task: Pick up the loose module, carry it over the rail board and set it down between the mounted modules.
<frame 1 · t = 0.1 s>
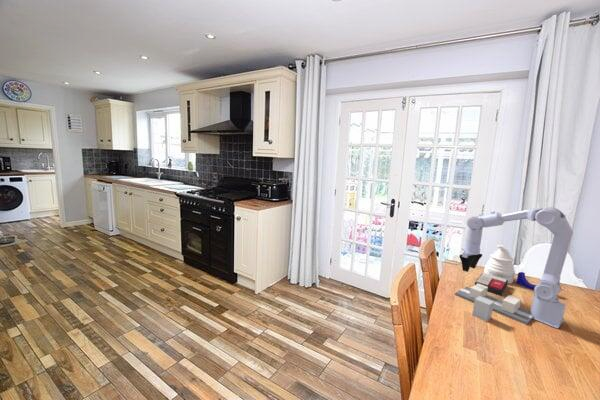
hand: (468, 269, 127), 10 cm above the table, tool pointing down, fingers open, 7 cm apart
loose module: (481, 316, 106), on the table
blue shoe: (532, 288, 134), on the table
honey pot: (498, 278, 144), on the table
mounted modules: (494, 297, 115), on the rail board, point 3 cm above the table
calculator: (490, 287, 133), on the table
rail board: (492, 304, 116), on the table
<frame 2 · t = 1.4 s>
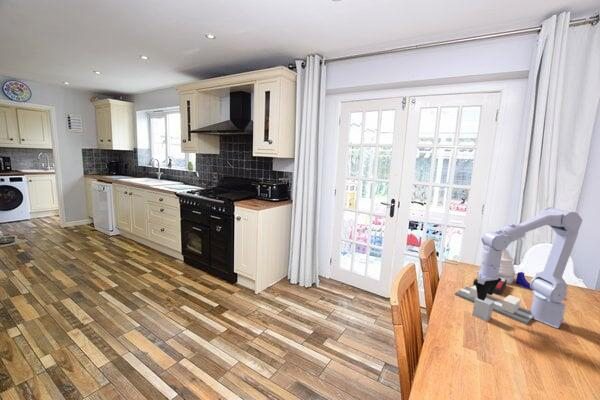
hand: (484, 296, 105), 8 cm above the table, tool pointing down, fingers open, 7 cm apart
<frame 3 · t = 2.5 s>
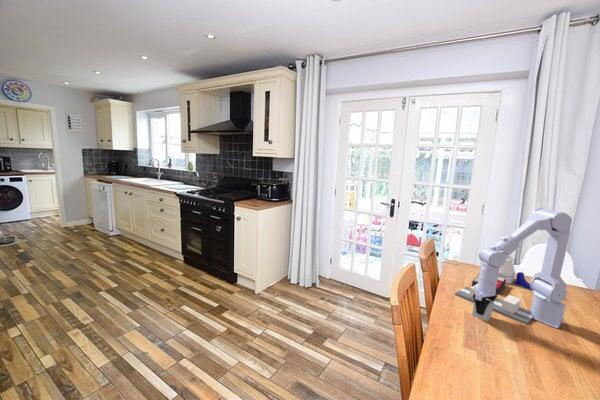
hand: (482, 312, 106), 2 cm above the table, tool pointing down, fingers closed on loose module, 4 cm apart
loose module: (481, 316, 106), on the table, touching gripper
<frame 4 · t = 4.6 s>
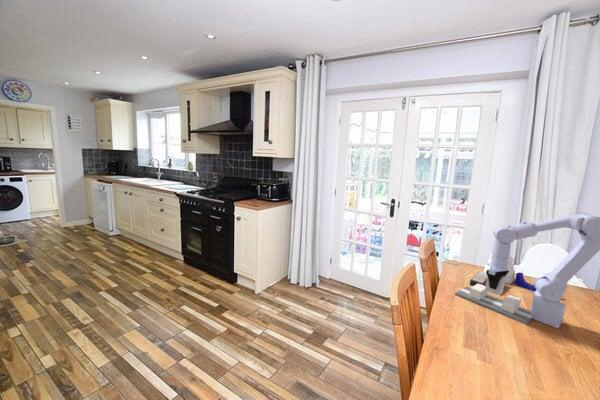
hand: (494, 286, 112), 9 cm above the table, tool pointing down, fingers closed on loose module, 4 cm apart
loose module: (493, 291, 113), point 7 cm above the table, touching gripper
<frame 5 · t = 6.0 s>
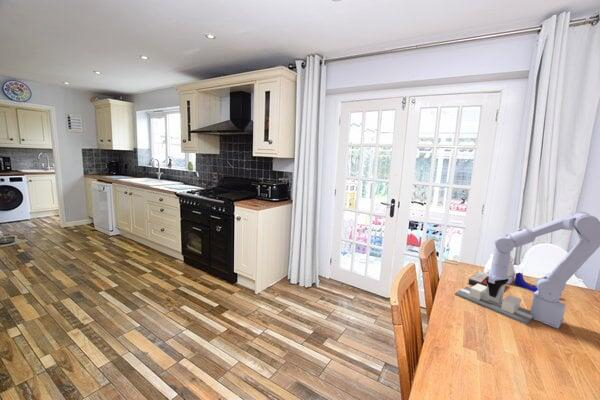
hand: (494, 294, 115), 4 cm above the table, tool pointing down, fingers closed on loose module, 4 cm apart
loose module: (493, 298, 115), point 3 cm above the table, touching gripper
when the fingers open (4 cm above the table, at t = 6.8 s): loose module drops 1 cm, resting on rail board.
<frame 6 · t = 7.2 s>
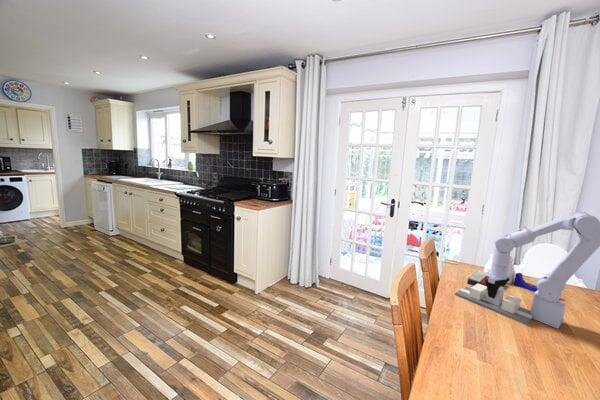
hand: (494, 294, 115), 4 cm above the table, tool pointing down, fingers open, 7 cm apart
loose module: (493, 301, 115), point 1 cm above the table, touching rail board
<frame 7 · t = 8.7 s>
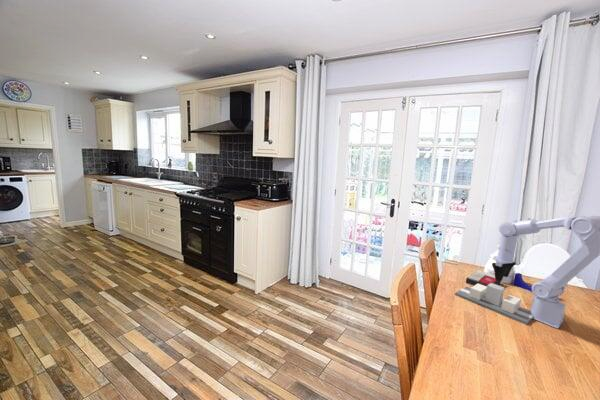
hand: (501, 278, 120), 9 cm above the table, tool pointing down, fingers open, 7 cm apart
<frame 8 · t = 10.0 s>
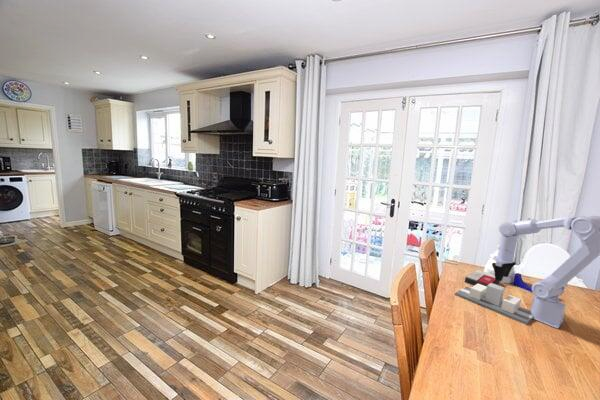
hand: (501, 278, 120), 9 cm above the table, tool pointing down, fingers open, 7 cm apart
at the end: loose module 0.1 cm off-centre on the rail board, point 1.2 cm above the rail board's base; loose module tilted 0°; the gripper is holding nothing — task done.
